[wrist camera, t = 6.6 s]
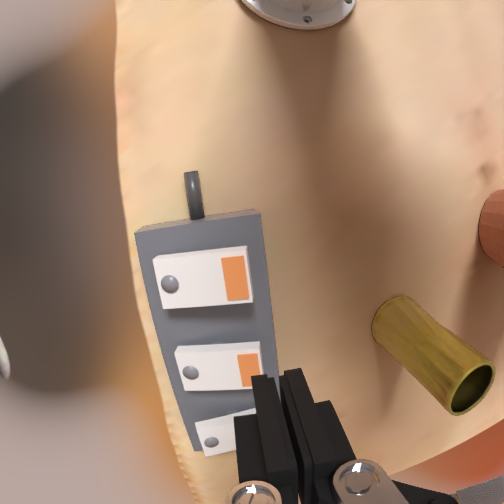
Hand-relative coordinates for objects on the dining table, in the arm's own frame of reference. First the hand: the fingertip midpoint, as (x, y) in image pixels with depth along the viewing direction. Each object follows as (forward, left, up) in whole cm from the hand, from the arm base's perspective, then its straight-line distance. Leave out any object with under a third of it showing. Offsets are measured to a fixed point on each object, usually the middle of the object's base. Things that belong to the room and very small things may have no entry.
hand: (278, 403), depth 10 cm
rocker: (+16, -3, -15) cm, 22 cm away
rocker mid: (+8, -3, -15) cm, 17 cm away
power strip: (+6, -3, -20) cm, 21 cm away
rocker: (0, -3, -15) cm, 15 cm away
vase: (+10, +16, -20) cm, 28 cm away
